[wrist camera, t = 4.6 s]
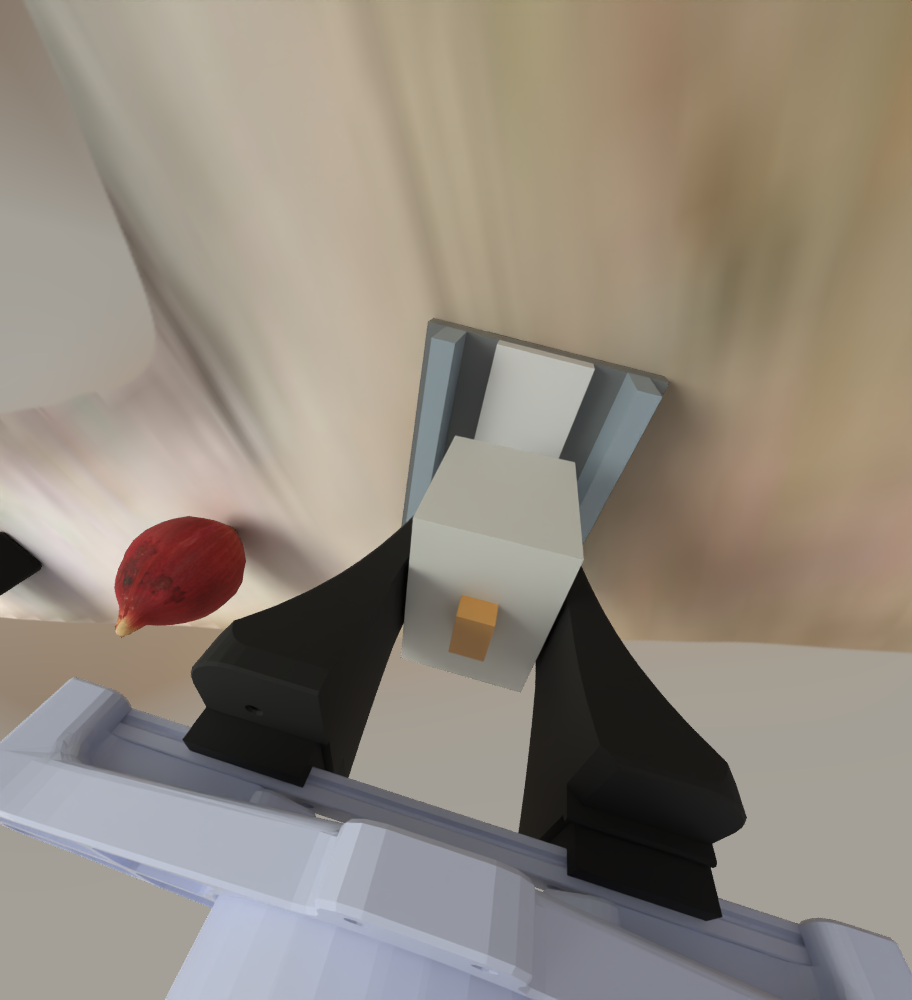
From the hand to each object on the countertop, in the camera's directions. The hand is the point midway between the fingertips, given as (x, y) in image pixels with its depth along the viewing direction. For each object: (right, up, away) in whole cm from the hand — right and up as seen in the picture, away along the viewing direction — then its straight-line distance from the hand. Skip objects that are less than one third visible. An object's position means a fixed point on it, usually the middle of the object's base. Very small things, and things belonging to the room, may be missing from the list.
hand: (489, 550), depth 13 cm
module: (0, +1, +1) cm, 2 cm away
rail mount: (+1, +3, +5) cm, 6 cm away
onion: (-16, 0, +12) cm, 20 cm away
